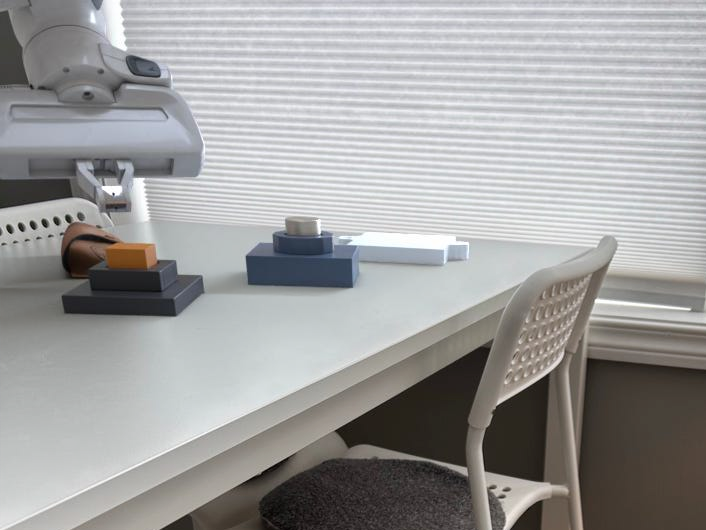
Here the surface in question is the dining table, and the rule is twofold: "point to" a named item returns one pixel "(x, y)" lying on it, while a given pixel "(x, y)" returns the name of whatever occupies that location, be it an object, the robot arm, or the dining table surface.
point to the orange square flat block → (131, 255)
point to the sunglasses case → (84, 248)
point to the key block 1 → (134, 291)
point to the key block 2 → (303, 262)
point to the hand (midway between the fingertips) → (115, 208)
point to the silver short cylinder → (302, 226)
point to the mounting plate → (407, 248)
